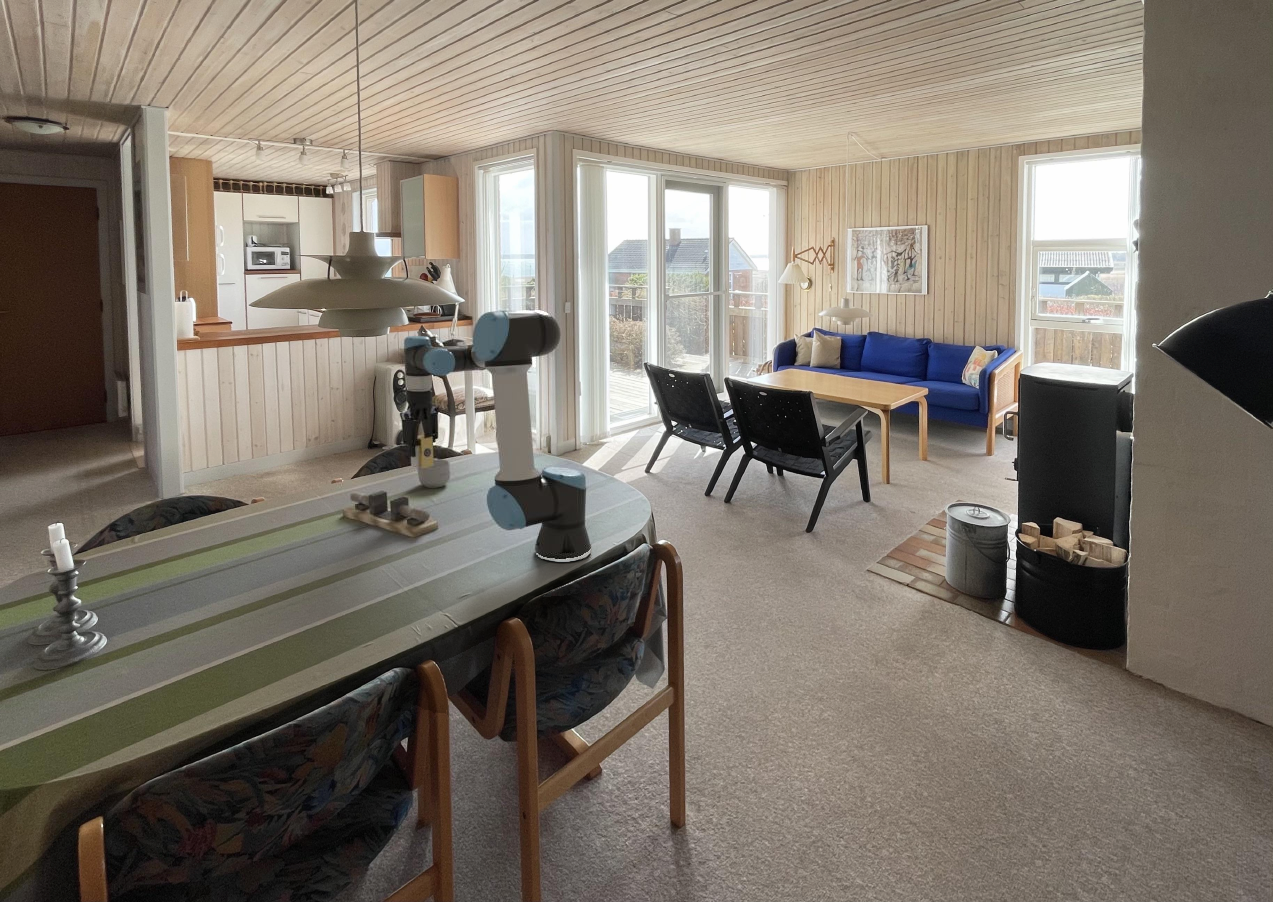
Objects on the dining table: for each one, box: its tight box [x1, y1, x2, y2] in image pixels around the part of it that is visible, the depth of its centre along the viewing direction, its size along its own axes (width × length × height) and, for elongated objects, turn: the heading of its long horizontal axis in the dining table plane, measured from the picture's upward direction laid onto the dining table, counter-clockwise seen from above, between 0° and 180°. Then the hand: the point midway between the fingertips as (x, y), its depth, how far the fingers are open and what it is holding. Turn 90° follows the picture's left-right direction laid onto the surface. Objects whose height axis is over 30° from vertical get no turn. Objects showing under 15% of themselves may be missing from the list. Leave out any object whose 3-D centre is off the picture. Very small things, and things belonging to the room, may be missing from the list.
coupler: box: [416, 434, 434, 469], centre depth 228 cm, size 5×4×9 cm
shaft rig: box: [342, 490, 439, 538], centre depth 220 cm, size 30×9×8 cm, turn 59°
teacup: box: [416, 458, 451, 489], centre depth 258 cm, size 14×11×8 cm
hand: (421, 464), depth 229 cm, fingers closed on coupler, 4 cm apart
